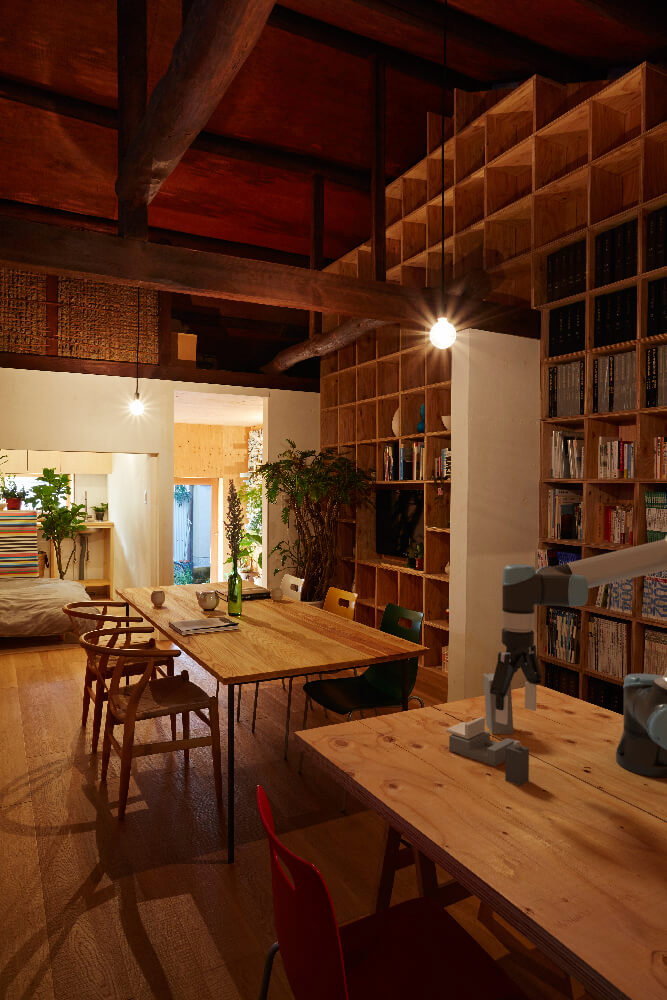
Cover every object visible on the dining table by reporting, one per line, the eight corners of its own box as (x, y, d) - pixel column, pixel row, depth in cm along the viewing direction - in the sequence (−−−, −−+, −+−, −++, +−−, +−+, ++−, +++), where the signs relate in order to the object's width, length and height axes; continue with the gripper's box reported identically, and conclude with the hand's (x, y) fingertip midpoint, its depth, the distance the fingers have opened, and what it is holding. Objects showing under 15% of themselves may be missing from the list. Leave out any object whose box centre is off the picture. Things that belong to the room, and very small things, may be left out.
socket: (514, 755, 171) (515, 740, 171) (494, 766, 164) (494, 750, 164) (470, 740, 181) (470, 726, 181) (449, 750, 174) (449, 735, 174)
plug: (528, 780, 156) (528, 741, 156) (520, 786, 154) (520, 746, 153) (513, 775, 159) (514, 737, 159) (505, 780, 157) (505, 741, 156)
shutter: (484, 731, 177) (484, 717, 177) (468, 739, 171) (468, 725, 171) (463, 724, 182) (463, 711, 182) (446, 732, 176) (446, 718, 176)
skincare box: (513, 734, 185) (514, 680, 185) (489, 734, 186) (489, 680, 185) (506, 724, 194) (506, 671, 194) (482, 723, 194) (483, 671, 194)
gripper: (529, 619, 167) (528, 700, 168) (475, 633, 150) (474, 724, 150) (556, 623, 162) (555, 707, 162) (504, 639, 144) (502, 733, 145)
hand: (516, 716), depth 156 cm, fingers open, 13 cm apart
